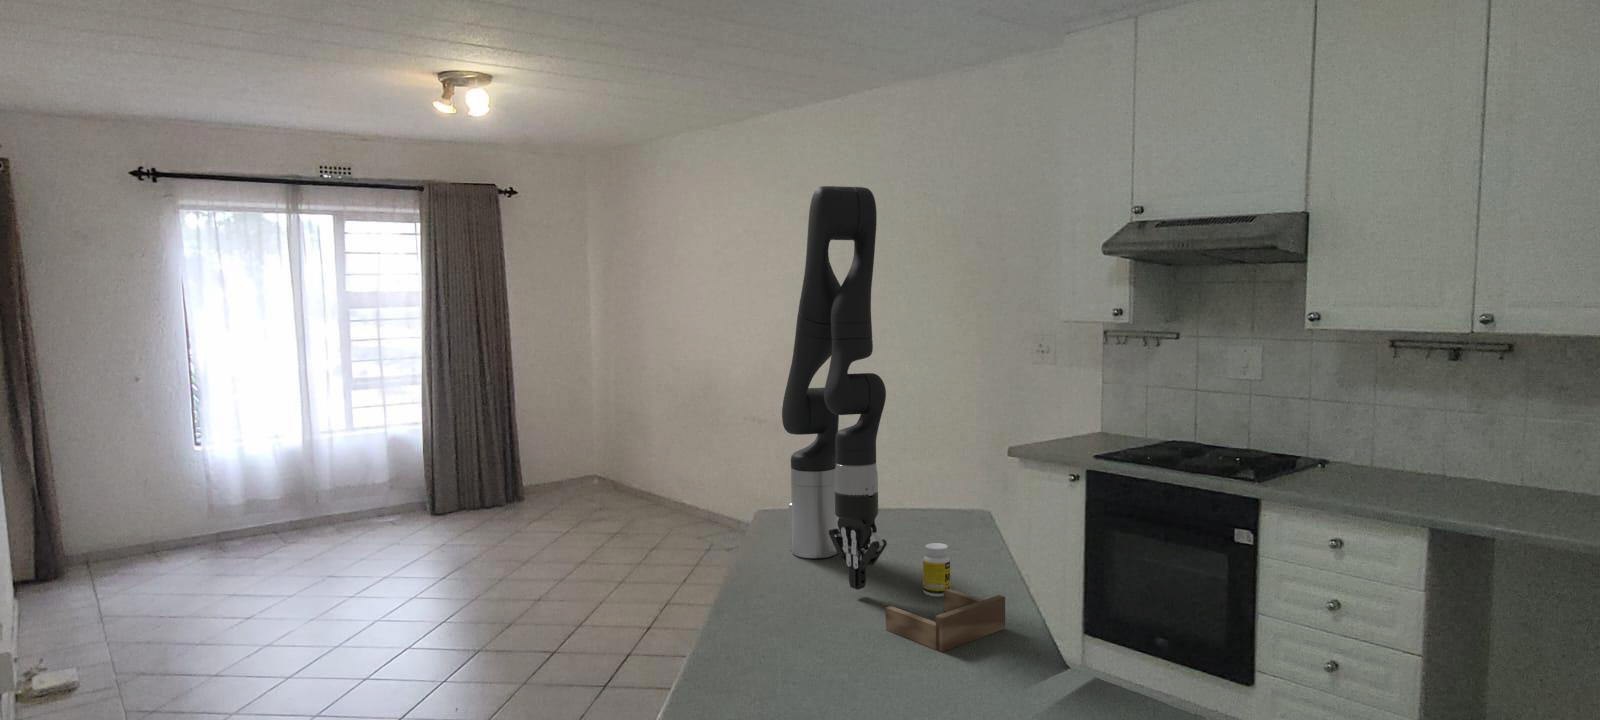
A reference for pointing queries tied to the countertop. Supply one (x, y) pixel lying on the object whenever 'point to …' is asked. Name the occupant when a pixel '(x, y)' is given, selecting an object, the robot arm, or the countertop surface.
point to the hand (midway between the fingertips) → (857, 587)
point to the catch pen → (950, 621)
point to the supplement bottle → (936, 569)
